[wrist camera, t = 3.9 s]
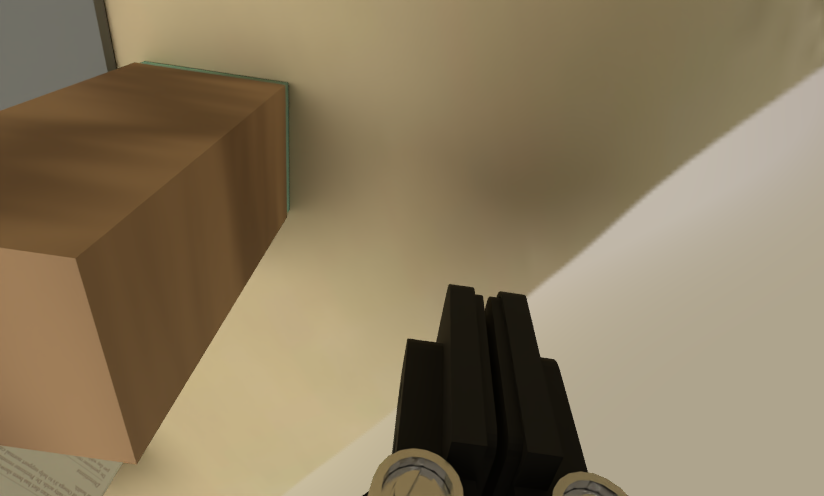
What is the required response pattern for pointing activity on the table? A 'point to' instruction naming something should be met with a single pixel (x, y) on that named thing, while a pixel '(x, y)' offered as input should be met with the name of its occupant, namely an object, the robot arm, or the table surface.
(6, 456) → the supplement box
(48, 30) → the mat
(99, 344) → the walnut block
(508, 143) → the table surface
